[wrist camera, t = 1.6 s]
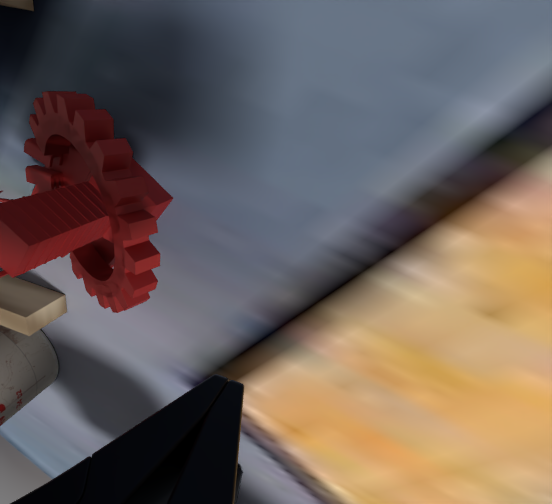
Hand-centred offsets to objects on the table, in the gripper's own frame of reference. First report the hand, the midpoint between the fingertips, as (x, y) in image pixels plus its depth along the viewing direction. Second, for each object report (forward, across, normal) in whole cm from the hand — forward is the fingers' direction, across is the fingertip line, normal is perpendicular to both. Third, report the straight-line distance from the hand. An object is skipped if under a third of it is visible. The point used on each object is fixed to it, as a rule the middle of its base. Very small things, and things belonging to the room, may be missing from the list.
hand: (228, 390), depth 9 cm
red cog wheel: (+10, +12, 0) cm, 16 cm away
